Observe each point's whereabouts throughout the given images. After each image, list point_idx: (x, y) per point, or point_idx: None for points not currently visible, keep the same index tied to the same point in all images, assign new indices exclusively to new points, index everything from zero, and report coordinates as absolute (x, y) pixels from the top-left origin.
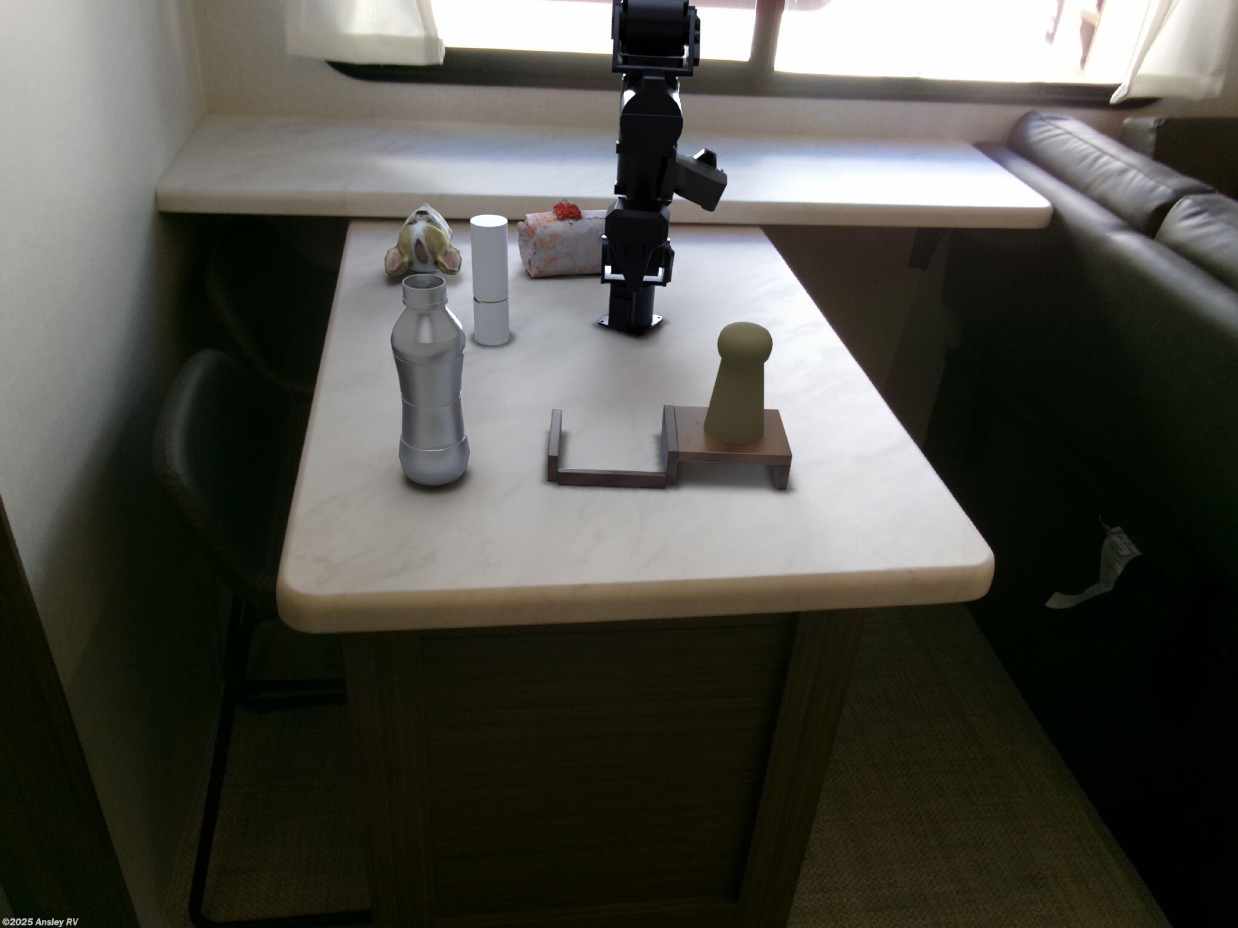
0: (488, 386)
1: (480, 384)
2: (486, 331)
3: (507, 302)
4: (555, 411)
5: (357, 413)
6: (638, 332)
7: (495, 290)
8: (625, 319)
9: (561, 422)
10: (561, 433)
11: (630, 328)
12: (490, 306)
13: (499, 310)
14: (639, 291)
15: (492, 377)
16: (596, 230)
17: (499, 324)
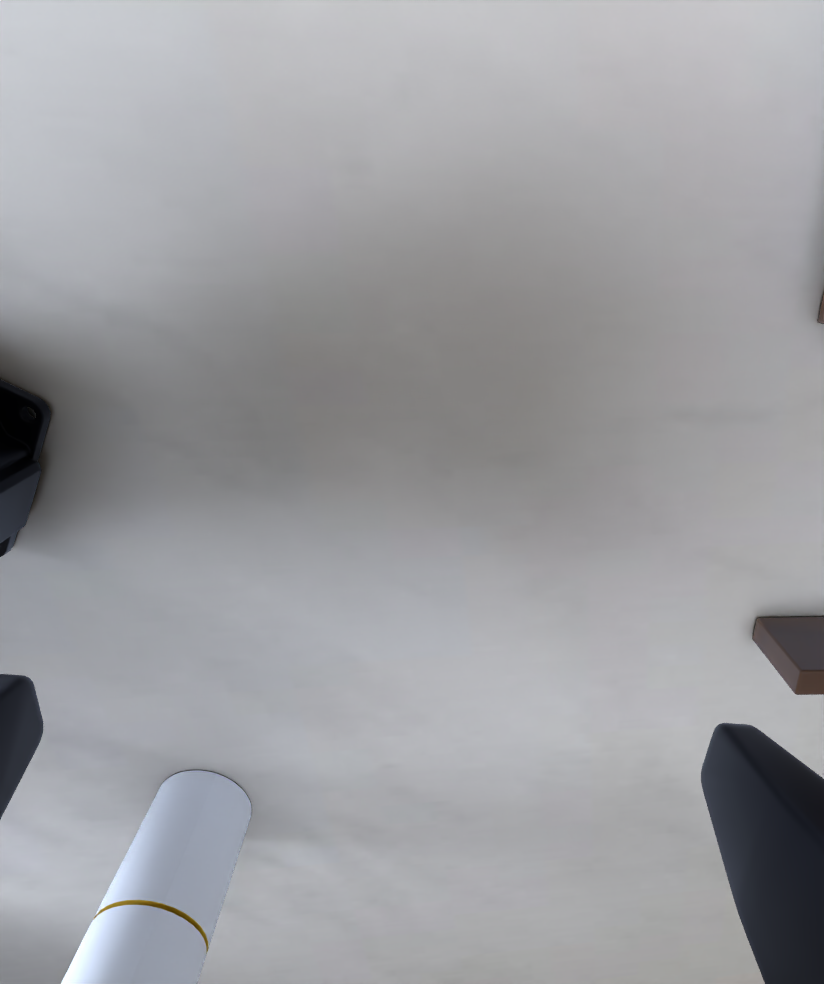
0: (485, 789)
1: (476, 805)
2: (239, 850)
3: (158, 888)
4: (814, 687)
5: (627, 976)
6: (23, 414)
7: (182, 976)
8: (11, 485)
9: (811, 649)
10: (765, 619)
11: (21, 449)
12: (210, 924)
13: (201, 888)
14: (763, 737)
15: (434, 785)
16: None
17: (219, 844)
